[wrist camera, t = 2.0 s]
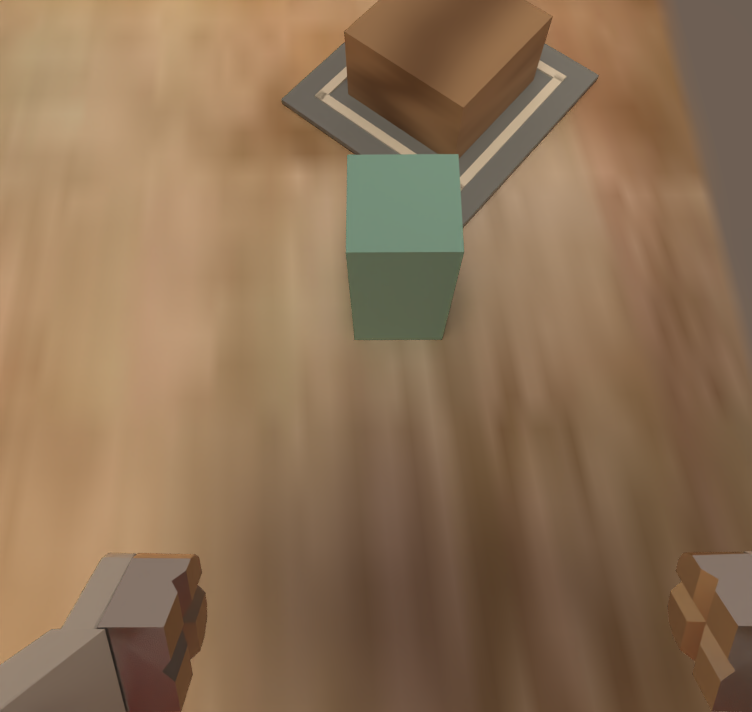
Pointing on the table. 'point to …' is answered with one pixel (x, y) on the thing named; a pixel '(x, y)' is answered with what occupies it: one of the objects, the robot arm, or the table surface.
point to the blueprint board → (476, 166)
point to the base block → (444, 64)
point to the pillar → (403, 243)
